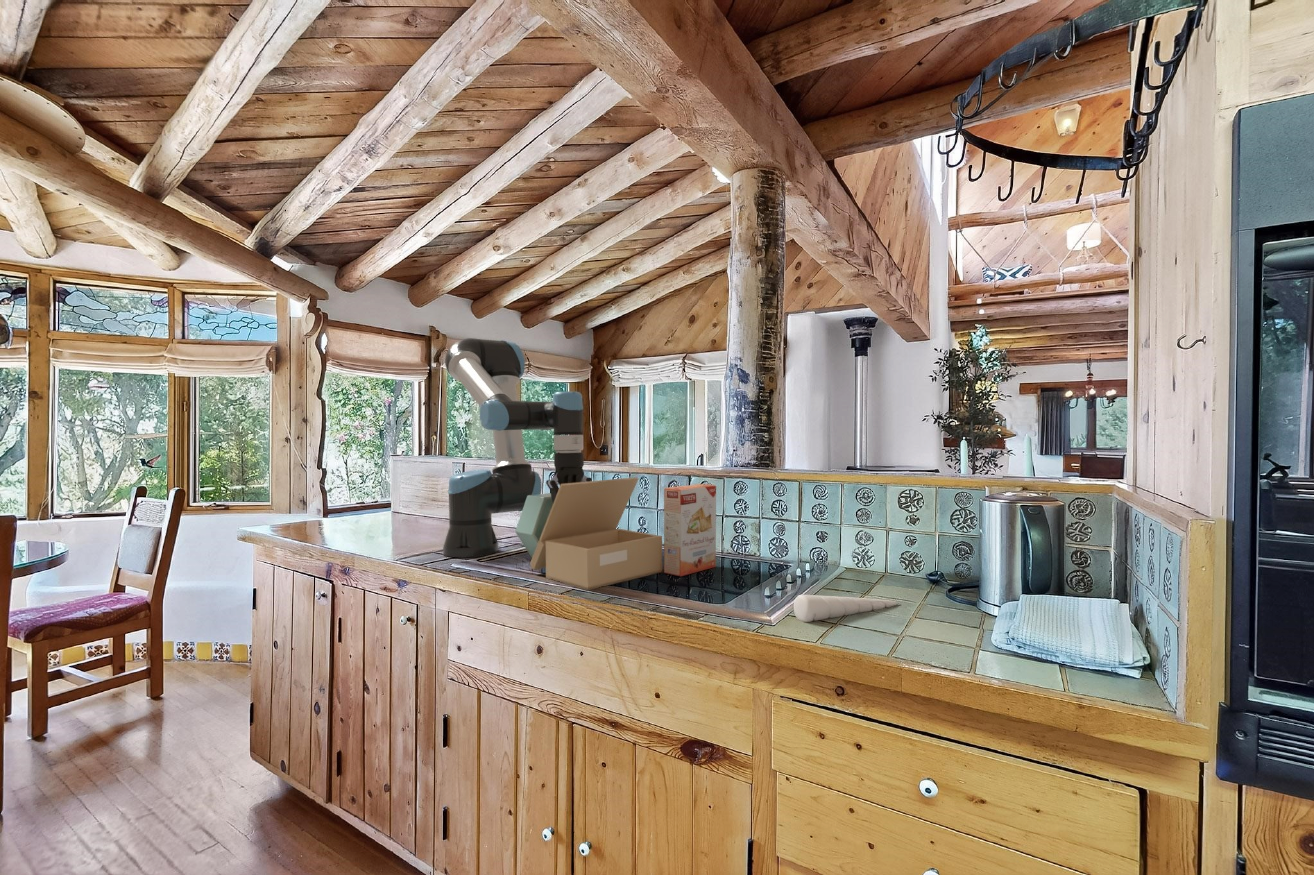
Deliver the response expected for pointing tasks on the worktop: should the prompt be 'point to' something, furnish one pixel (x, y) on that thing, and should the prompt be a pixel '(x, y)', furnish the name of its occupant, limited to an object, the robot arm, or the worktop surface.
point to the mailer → (603, 558)
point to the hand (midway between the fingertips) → (570, 543)
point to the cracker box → (689, 529)
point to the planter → (533, 520)
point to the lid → (584, 511)
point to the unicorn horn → (834, 606)
